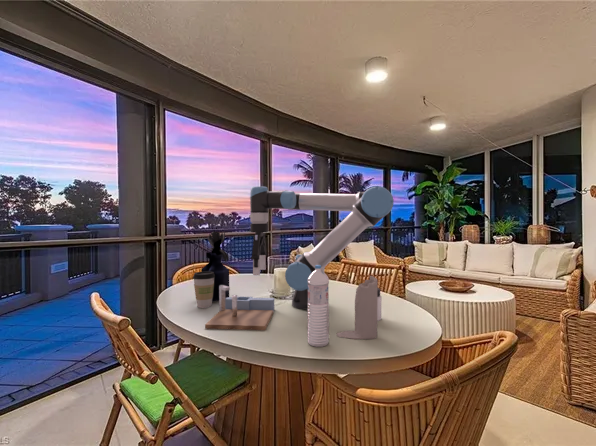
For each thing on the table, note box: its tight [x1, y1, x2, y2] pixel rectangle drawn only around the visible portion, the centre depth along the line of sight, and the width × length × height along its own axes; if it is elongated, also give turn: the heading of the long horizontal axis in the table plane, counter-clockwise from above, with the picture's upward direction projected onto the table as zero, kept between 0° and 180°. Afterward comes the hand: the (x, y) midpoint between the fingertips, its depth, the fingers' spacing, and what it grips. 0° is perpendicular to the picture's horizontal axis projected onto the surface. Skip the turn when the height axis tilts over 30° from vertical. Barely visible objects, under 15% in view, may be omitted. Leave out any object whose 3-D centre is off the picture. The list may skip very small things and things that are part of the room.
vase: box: [201, 227, 230, 303], centre depth 158 cm, size 14×12×35 cm
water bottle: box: [306, 265, 330, 348], centre depth 102 cm, size 7×7×25 cm
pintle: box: [231, 294, 238, 317], centre depth 126 cm, size 2×2×10 cm
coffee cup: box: [192, 271, 215, 309], centre depth 145 cm, size 10×10×15 cm
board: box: [204, 309, 274, 331], centre depth 125 cm, size 22×19×2 cm
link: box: [225, 295, 275, 312], centre depth 139 cm, size 21×7×5 cm, turn 86°
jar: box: [377, 287, 382, 322], centre depth 127 cm, size 9×8×12 cm
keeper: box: [218, 285, 231, 312], centre depth 132 cm, size 6×2×12 cm, turn 41°
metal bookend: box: [335, 275, 378, 340], centre depth 109 cm, size 7×14×20 cm, turn 88°
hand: (259, 272), depth 138 cm, fingers open, 13 cm apart
